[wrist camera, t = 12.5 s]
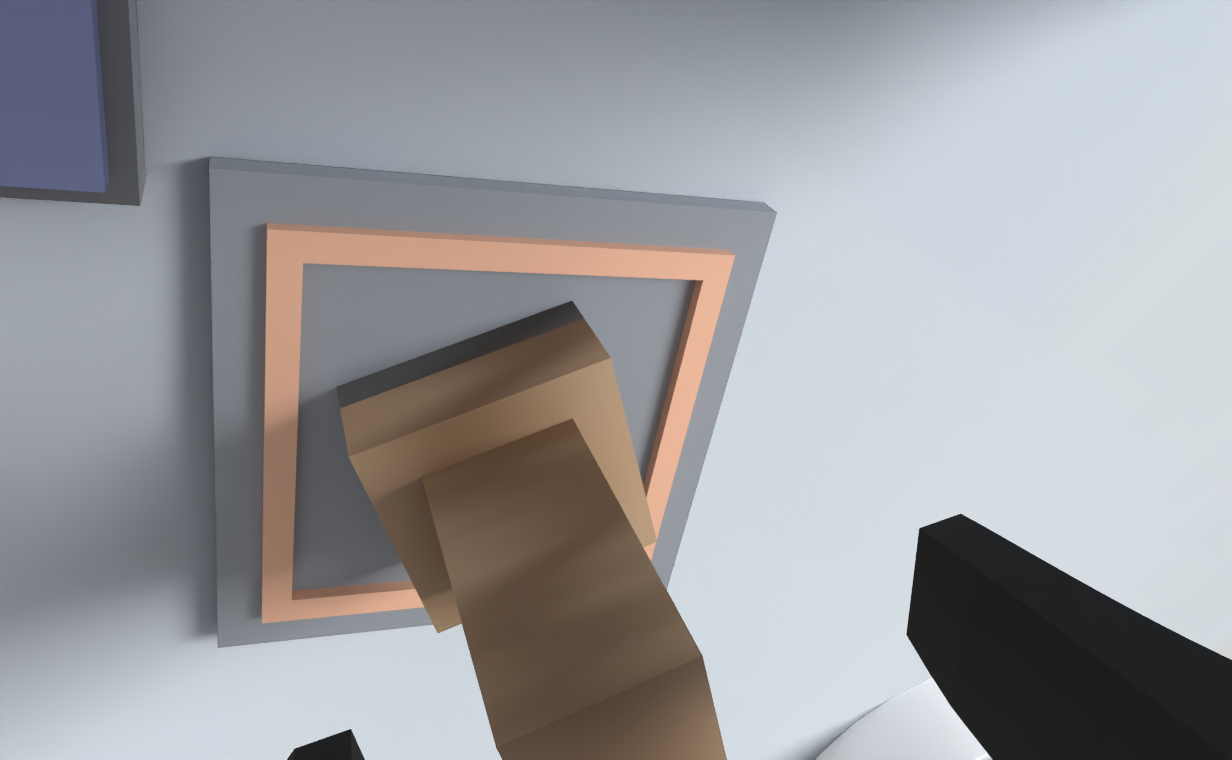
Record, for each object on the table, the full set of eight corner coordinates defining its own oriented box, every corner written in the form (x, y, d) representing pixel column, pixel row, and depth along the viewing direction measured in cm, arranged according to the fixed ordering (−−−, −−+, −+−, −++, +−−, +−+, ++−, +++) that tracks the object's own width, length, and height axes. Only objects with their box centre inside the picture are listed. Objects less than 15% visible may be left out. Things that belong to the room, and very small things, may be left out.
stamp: (572, 300, 19) (760, 579, 12) (620, 476, 22) (791, 778, 15) (336, 386, 18) (397, 737, 11) (419, 556, 21) (506, 914, 14)
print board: (763, 202, 20) (784, 217, 19) (655, 584, 25) (667, 607, 24) (210, 156, 16) (208, 174, 15) (218, 628, 21) (217, 657, 20)
